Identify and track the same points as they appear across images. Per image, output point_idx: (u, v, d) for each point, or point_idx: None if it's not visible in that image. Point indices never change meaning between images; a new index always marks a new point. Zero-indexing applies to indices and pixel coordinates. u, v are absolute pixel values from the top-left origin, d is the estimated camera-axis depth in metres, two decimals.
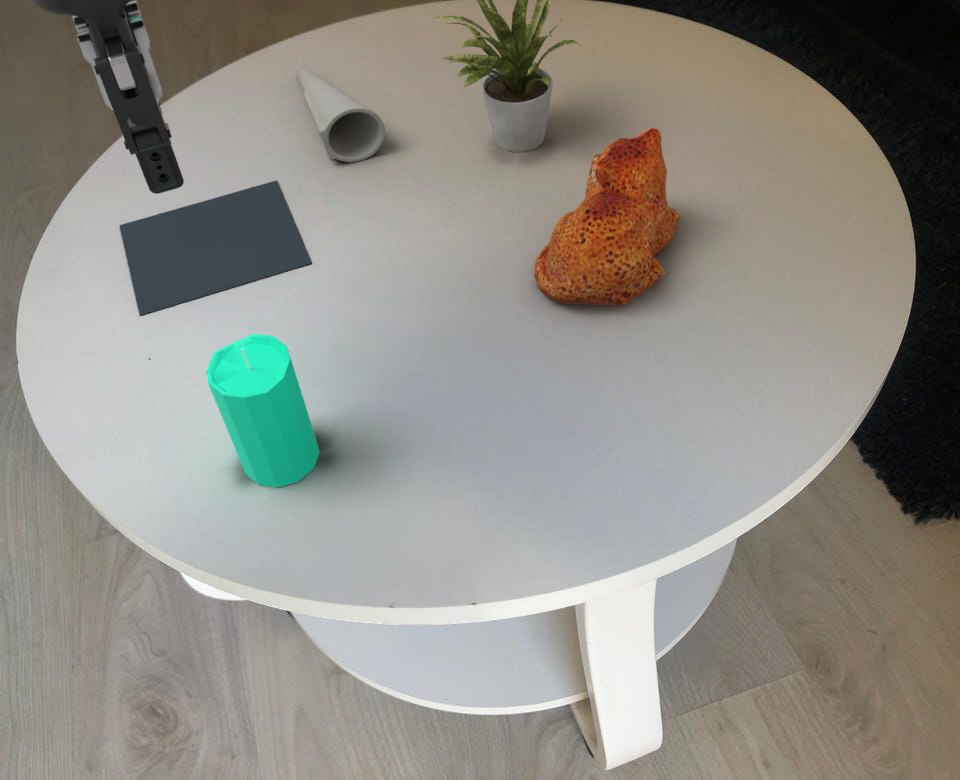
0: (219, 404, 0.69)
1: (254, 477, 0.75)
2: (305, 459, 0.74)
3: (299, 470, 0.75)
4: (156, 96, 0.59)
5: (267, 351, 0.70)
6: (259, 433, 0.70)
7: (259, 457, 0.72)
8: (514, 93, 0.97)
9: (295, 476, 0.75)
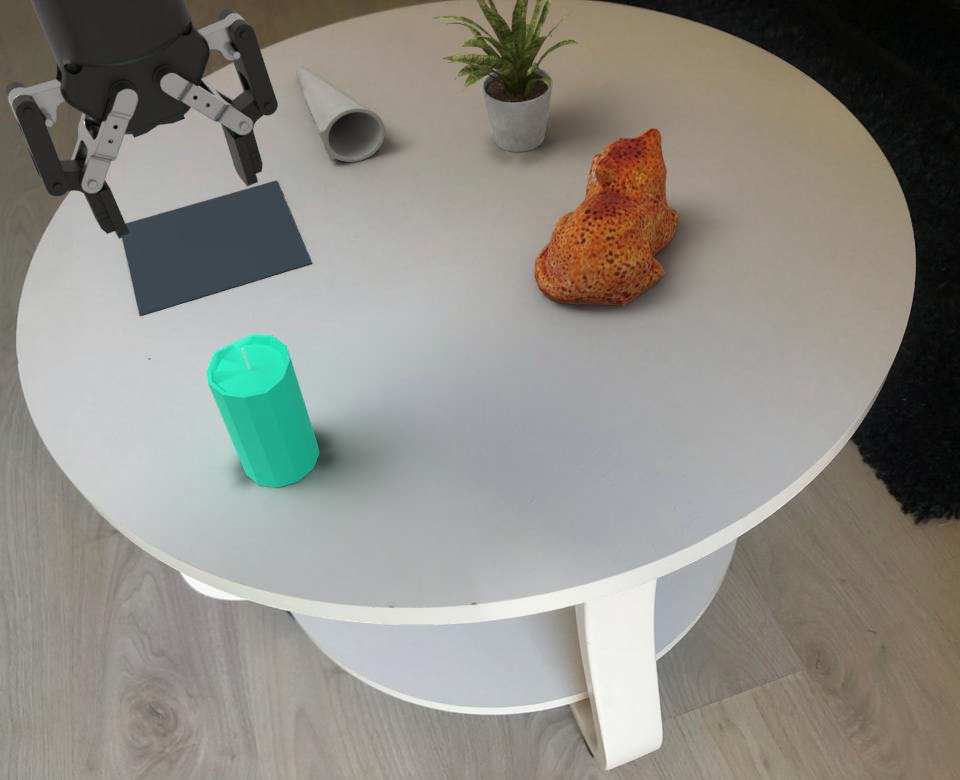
0: (219, 404, 0.69)
1: (254, 477, 0.75)
2: (305, 459, 0.74)
3: (299, 470, 0.75)
4: (91, 154, 0.56)
5: (267, 351, 0.70)
6: (259, 433, 0.70)
7: (259, 457, 0.72)
8: (514, 93, 0.97)
9: (295, 476, 0.75)
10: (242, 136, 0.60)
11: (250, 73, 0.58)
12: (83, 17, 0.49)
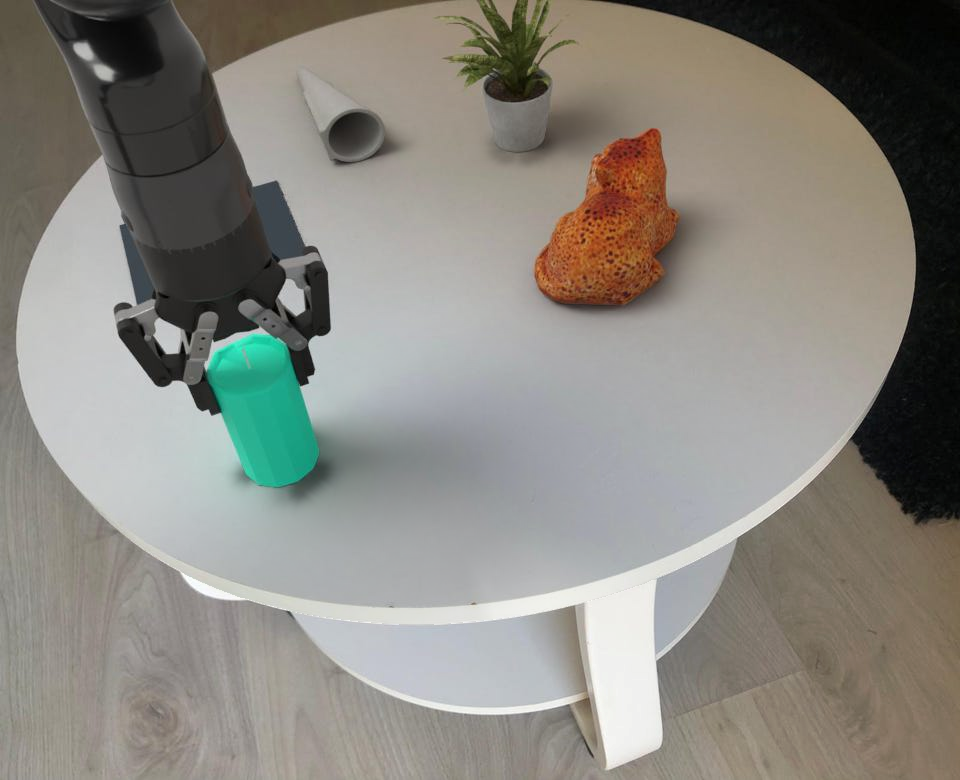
0: (219, 404, 0.69)
1: (254, 477, 0.75)
2: (305, 458, 0.74)
3: (299, 470, 0.75)
4: (187, 358, 0.65)
5: (267, 351, 0.70)
6: (260, 433, 0.70)
7: (259, 457, 0.72)
8: (514, 93, 0.97)
9: (295, 476, 0.75)
10: (297, 351, 0.68)
11: (315, 303, 0.66)
12: (174, 268, 0.58)
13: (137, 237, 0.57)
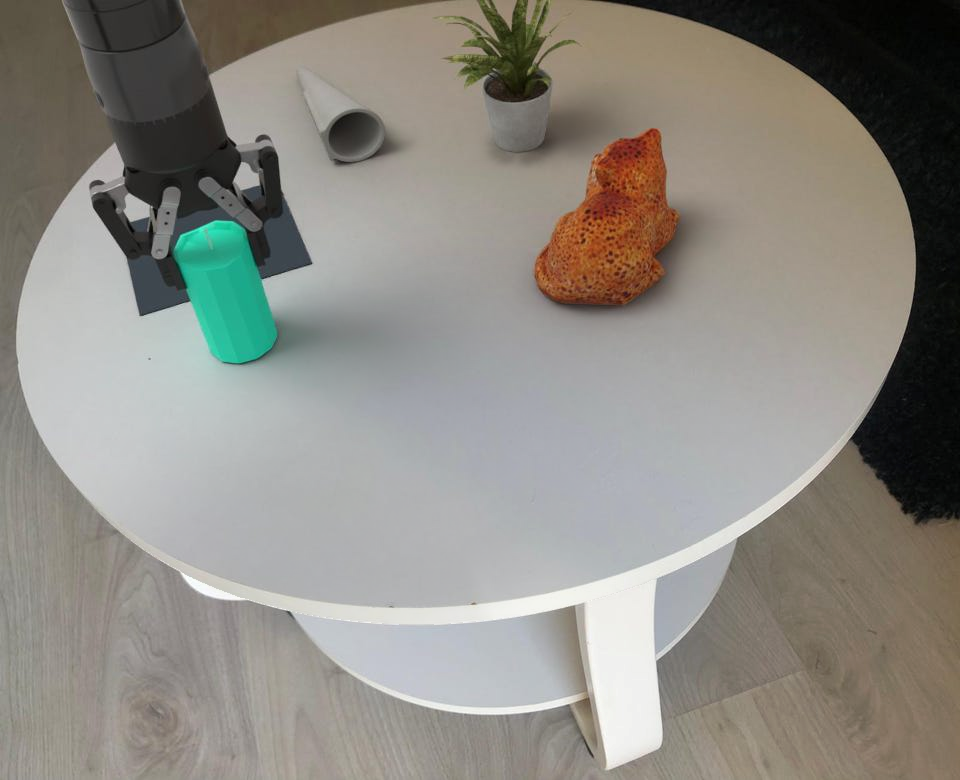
0: (185, 280, 0.78)
1: (218, 354, 0.83)
2: (263, 337, 0.83)
3: (258, 347, 0.83)
4: (154, 233, 0.74)
5: (228, 235, 0.79)
6: (221, 307, 0.79)
7: (221, 332, 0.81)
8: (514, 93, 0.97)
9: (254, 353, 0.83)
10: (253, 232, 0.77)
11: (267, 185, 0.75)
12: (139, 140, 0.66)
13: (107, 112, 0.66)
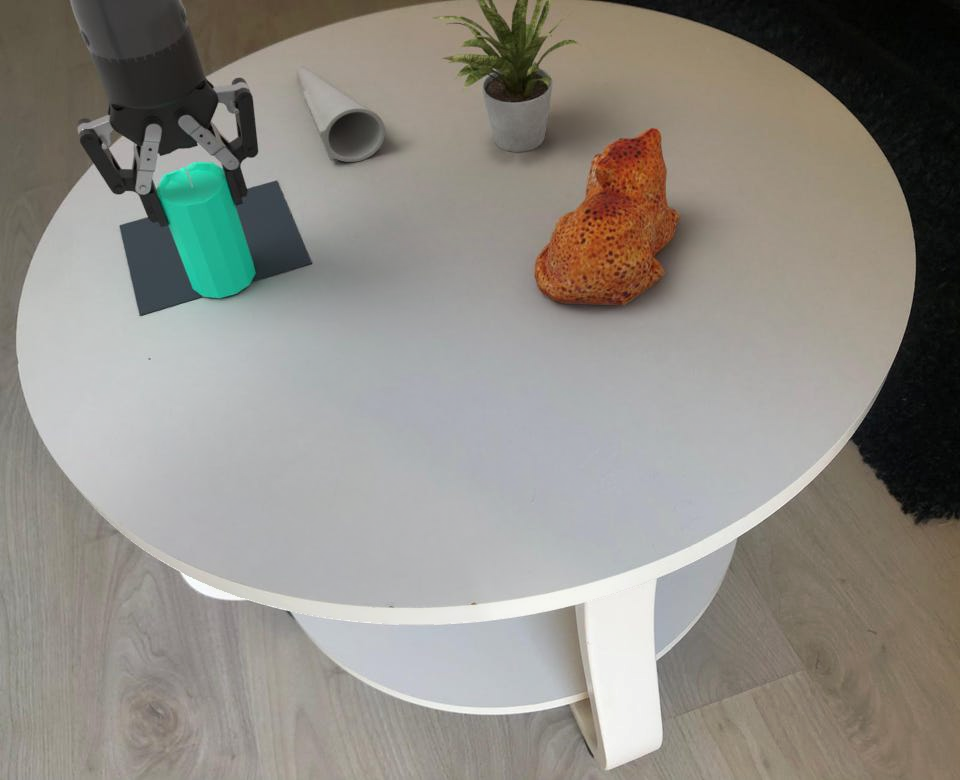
0: (167, 216, 0.84)
1: (199, 289, 0.89)
2: (242, 273, 0.89)
3: (237, 283, 0.89)
4: (138, 169, 0.79)
5: (208, 175, 0.85)
6: (201, 242, 0.84)
7: (201, 267, 0.87)
8: (514, 93, 0.97)
9: (233, 288, 0.89)
10: (231, 170, 0.83)
11: (243, 125, 0.80)
12: (122, 77, 0.72)
13: (92, 50, 0.71)
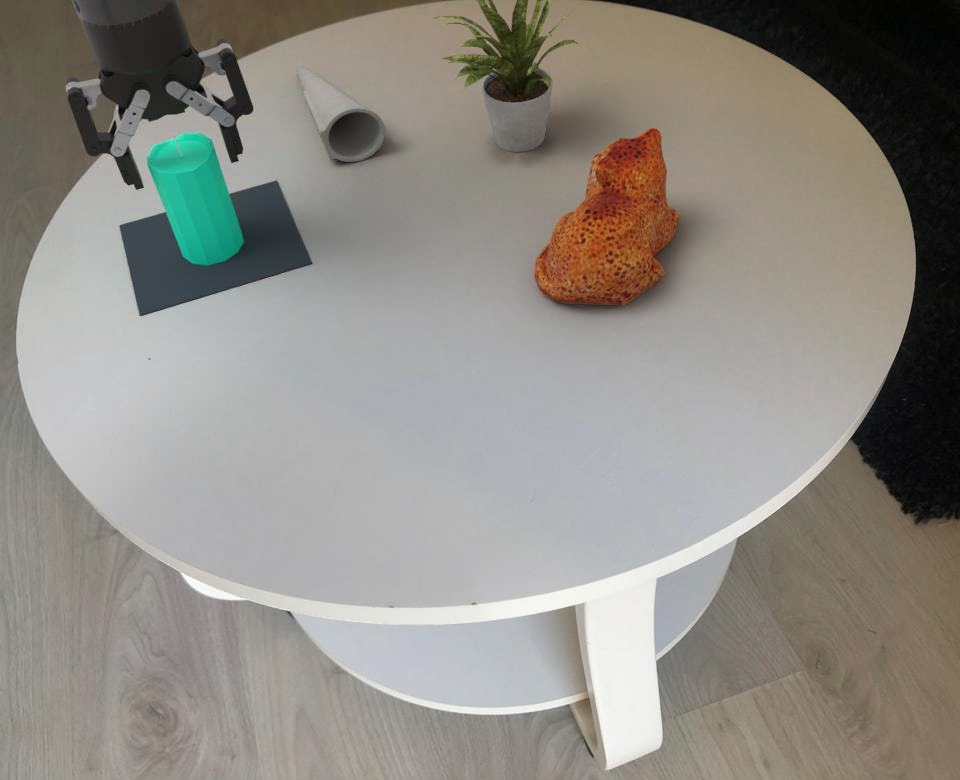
0: (157, 184, 0.87)
1: (189, 256, 0.92)
2: (230, 241, 0.92)
3: (225, 250, 0.92)
4: (117, 130, 0.82)
5: (196, 145, 0.88)
6: (190, 210, 0.88)
7: (191, 234, 0.90)
8: (514, 93, 0.97)
9: (222, 255, 0.92)
10: (227, 127, 0.86)
11: (233, 85, 0.83)
12: (111, 42, 0.75)
13: (83, 17, 0.75)
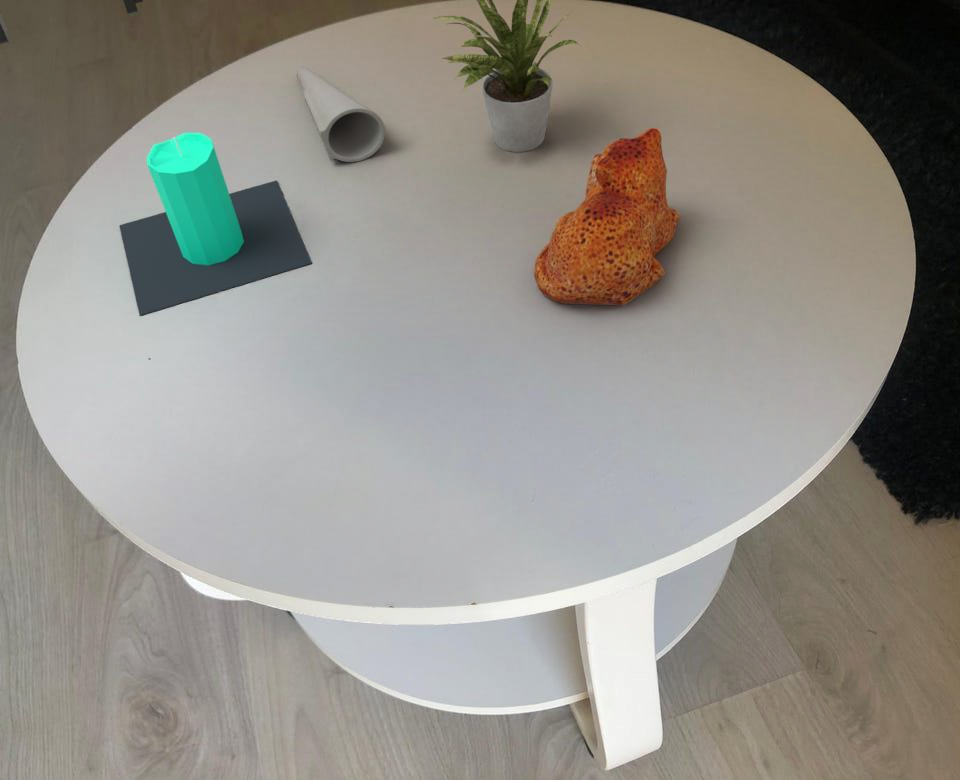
0: (157, 184, 0.87)
1: (189, 256, 0.92)
2: (230, 241, 0.92)
3: (225, 250, 0.92)
4: None
5: (196, 145, 0.88)
6: (190, 210, 0.88)
7: (191, 234, 0.90)
8: (514, 93, 0.97)
9: (222, 255, 0.92)
10: None
11: None
12: None
13: None
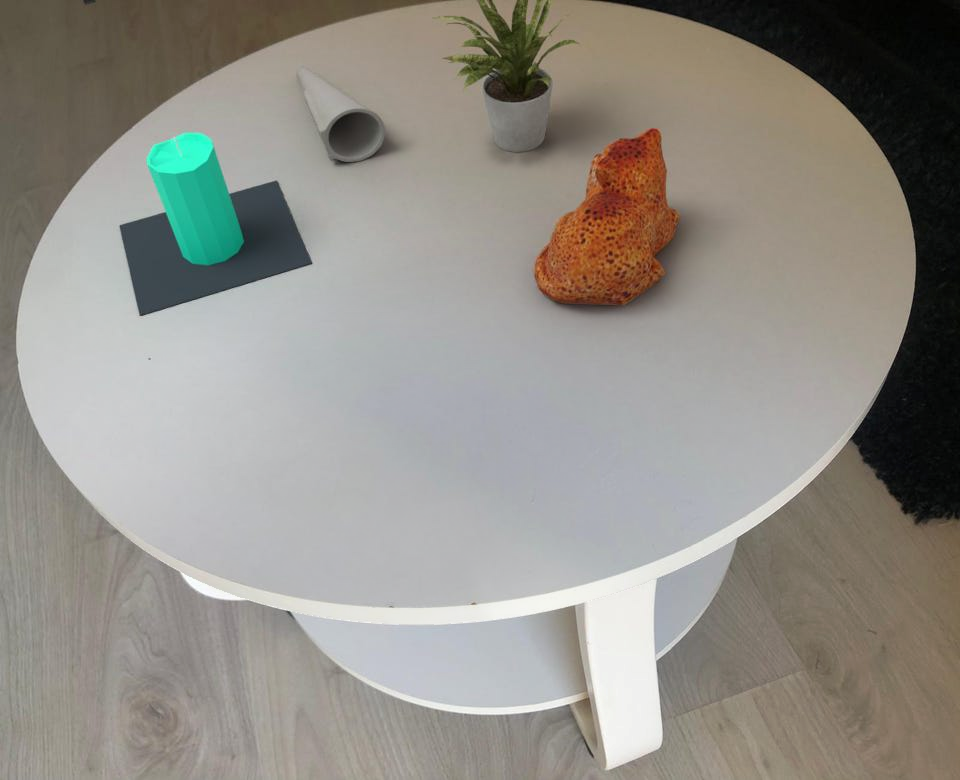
0: (157, 184, 0.87)
1: (189, 256, 0.92)
2: (230, 241, 0.92)
3: (225, 250, 0.92)
4: None
5: (196, 145, 0.88)
6: (190, 210, 0.88)
7: (191, 234, 0.90)
8: (514, 93, 0.97)
9: (222, 255, 0.92)
10: None
11: None
12: None
13: None
